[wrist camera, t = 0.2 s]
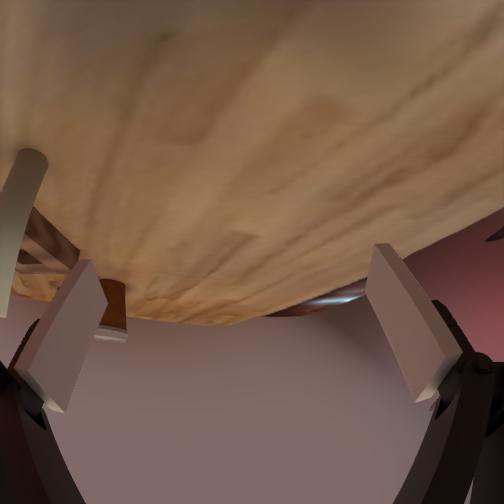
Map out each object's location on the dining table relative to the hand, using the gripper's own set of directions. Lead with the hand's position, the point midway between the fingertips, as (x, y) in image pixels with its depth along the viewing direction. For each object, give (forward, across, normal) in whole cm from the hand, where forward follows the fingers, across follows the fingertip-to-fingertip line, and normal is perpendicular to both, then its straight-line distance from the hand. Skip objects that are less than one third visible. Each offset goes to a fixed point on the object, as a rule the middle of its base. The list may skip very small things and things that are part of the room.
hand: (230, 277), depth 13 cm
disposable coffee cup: (+37, -29, -28) cm, 55 cm away
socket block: (+24, -34, -8) cm, 43 cm away
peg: (+15, -21, +4) cm, 27 cm away
